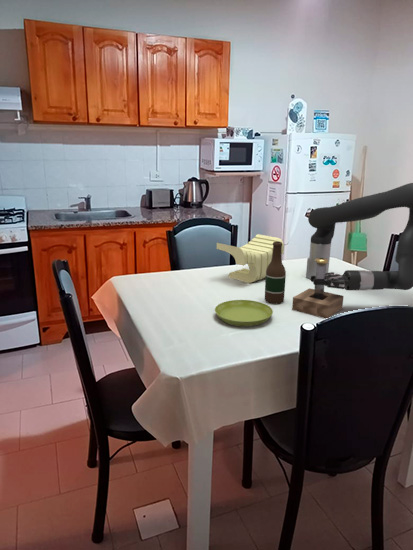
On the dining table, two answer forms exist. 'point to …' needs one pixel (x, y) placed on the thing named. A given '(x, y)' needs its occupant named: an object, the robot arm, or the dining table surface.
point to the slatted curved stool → (252, 257)
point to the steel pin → (320, 277)
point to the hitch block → (317, 303)
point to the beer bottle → (275, 277)
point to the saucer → (243, 312)
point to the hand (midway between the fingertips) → (312, 280)
